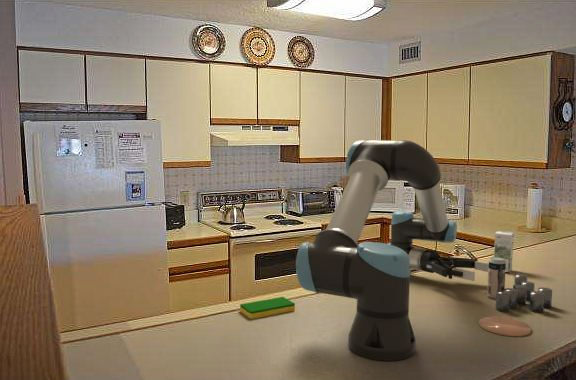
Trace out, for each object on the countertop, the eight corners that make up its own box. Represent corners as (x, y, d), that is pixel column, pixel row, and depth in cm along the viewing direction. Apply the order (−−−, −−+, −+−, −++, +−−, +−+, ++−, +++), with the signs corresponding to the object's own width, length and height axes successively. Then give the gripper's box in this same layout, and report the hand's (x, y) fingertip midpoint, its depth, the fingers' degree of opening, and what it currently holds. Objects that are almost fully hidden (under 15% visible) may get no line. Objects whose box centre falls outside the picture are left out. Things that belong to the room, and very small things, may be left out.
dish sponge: (239, 312, 135) (239, 304, 135) (282, 304, 142) (282, 296, 142) (250, 320, 129) (250, 311, 129) (295, 311, 136) (295, 303, 136)
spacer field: (477, 305, 140) (478, 288, 140) (517, 288, 157) (517, 273, 157) (530, 319, 130) (531, 301, 129) (566, 299, 146) (567, 283, 146)
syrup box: (512, 270, 180) (514, 231, 179) (509, 273, 175) (511, 234, 174) (495, 268, 183) (497, 230, 182) (493, 271, 178) (494, 232, 177)
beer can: (502, 300, 145) (504, 261, 144) (485, 298, 147) (487, 259, 146) (505, 296, 149) (507, 258, 148) (488, 294, 151) (490, 256, 150)
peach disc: (504, 339, 116) (504, 336, 116) (469, 321, 127) (469, 319, 127) (542, 332, 120) (542, 330, 120) (505, 316, 131) (505, 314, 131)
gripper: (443, 265, 175) (502, 277, 159) (403, 277, 159) (463, 292, 143) (444, 244, 174) (503, 254, 159) (403, 254, 158) (464, 267, 142)
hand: (484, 272), depth 151 cm, fingers open, 13 cm apart
